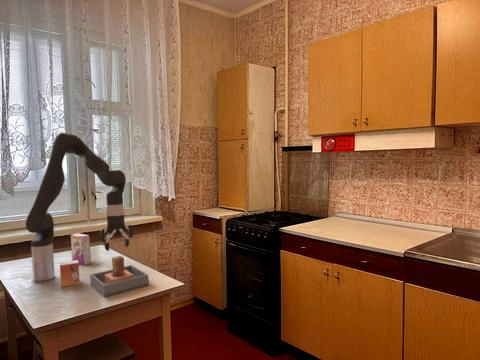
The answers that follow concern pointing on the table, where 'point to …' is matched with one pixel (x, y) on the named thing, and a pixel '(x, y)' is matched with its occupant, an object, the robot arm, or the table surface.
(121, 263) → the walnut peg
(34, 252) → the robot arm
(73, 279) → the small box
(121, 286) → the walled bin
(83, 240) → the candy bar box
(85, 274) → the table surface
